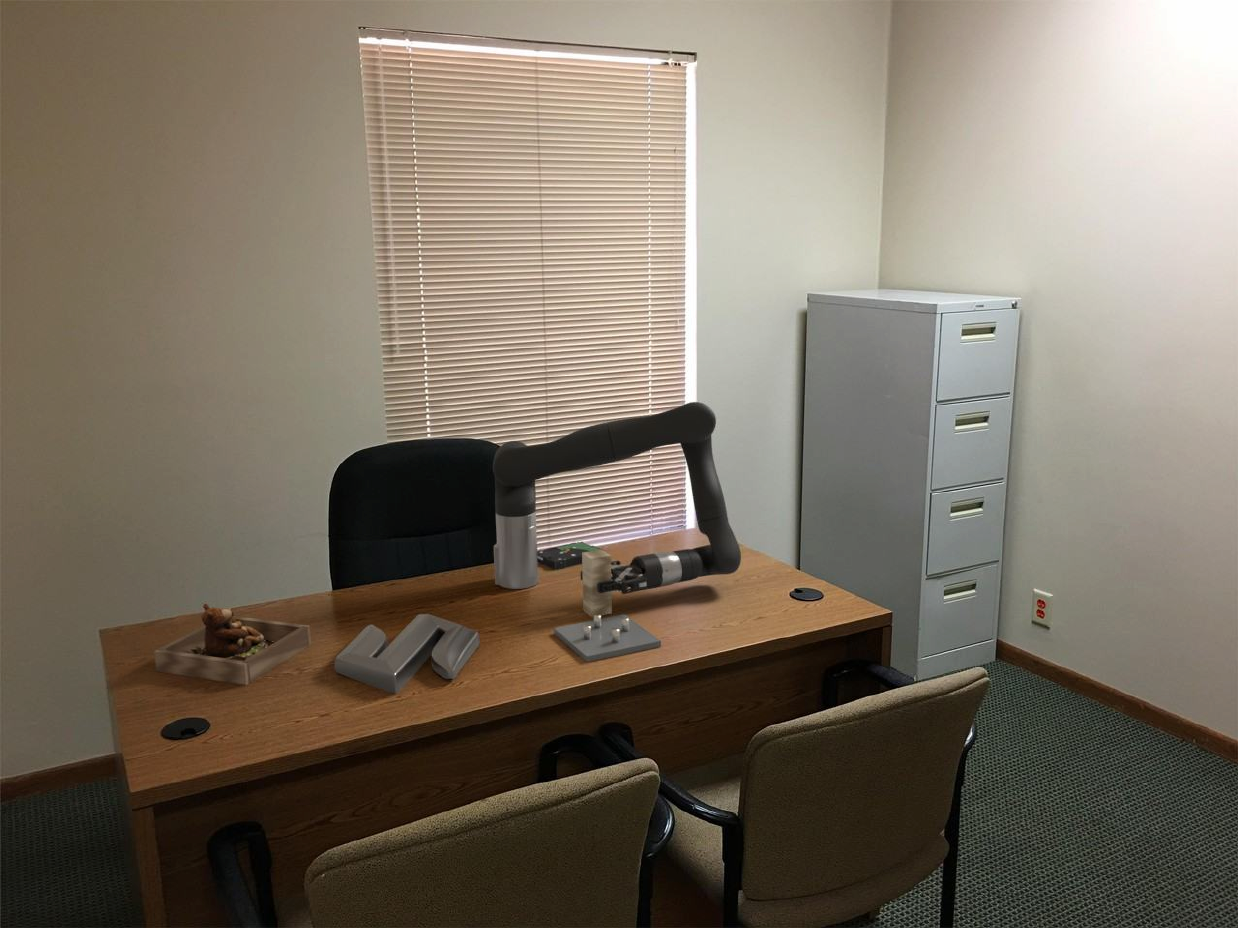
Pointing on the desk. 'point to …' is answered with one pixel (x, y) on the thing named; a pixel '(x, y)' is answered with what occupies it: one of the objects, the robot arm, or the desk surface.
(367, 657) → the emblem
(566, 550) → the disk drive
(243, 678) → the walnut display rim
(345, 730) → the desk surface
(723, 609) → the desk surface
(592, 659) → the slate base plate
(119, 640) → the desk surface
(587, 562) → the birch post
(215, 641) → the bear figurine
